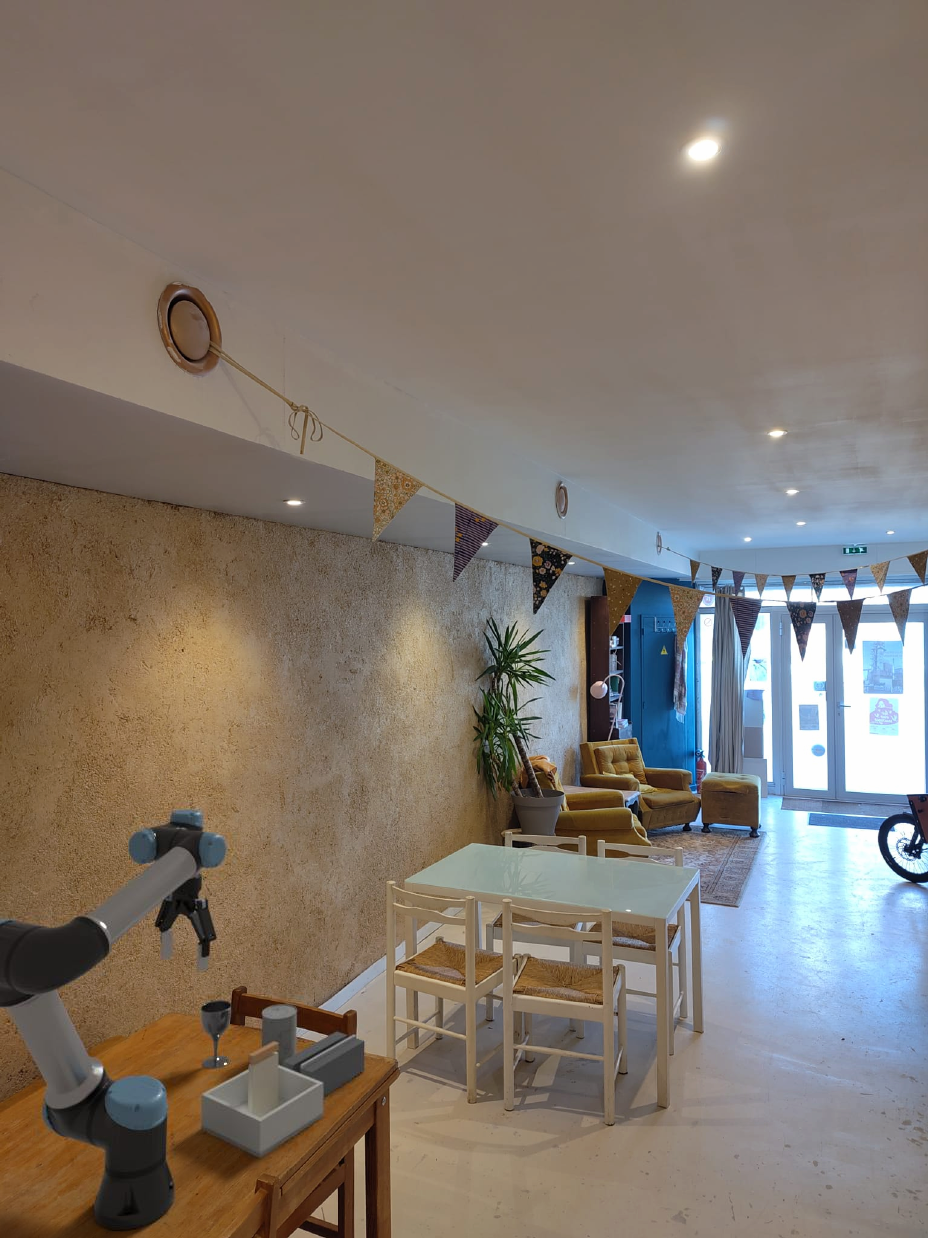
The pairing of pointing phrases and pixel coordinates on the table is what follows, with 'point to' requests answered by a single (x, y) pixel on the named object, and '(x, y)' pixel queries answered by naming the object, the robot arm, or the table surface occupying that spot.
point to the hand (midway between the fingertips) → (184, 964)
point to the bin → (261, 1135)
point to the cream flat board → (263, 1080)
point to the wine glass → (215, 1028)
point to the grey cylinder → (280, 1029)
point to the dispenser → (330, 1061)
